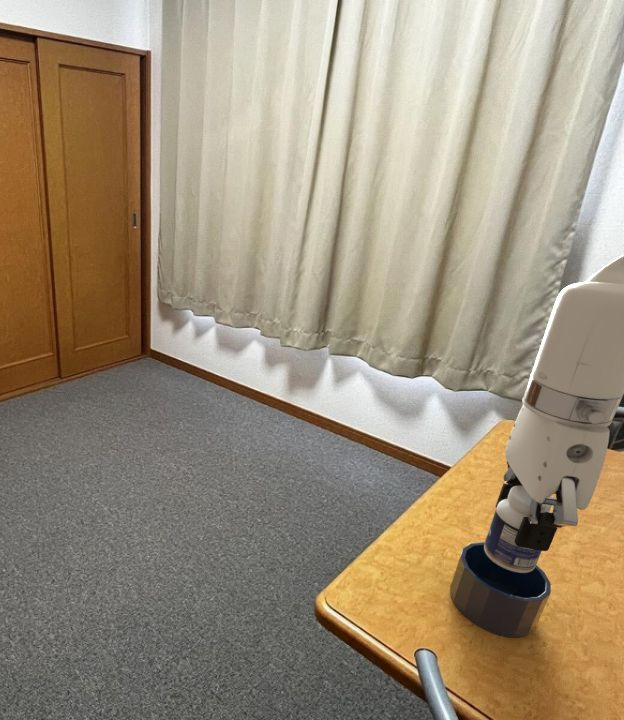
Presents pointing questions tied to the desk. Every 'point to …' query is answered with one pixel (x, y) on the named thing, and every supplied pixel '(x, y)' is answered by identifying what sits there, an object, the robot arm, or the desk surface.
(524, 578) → the bowl
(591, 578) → the desk surface
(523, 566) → the pill bottle
